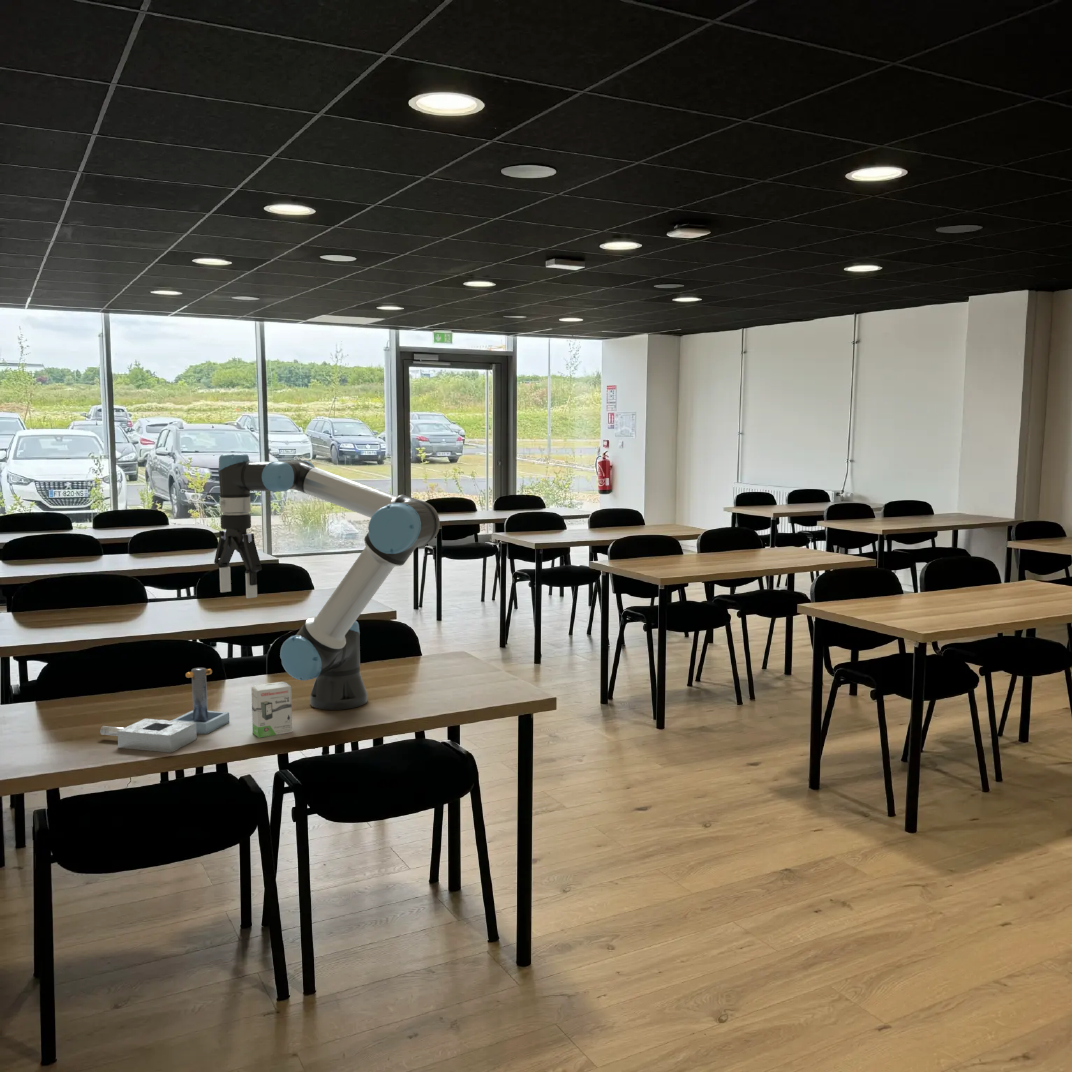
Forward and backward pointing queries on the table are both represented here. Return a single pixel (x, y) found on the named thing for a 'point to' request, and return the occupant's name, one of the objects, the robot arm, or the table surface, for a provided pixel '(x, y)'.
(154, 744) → the block
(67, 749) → the table surface
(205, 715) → the pin
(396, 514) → the robot arm
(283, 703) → the ink box
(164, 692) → the table surface
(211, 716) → the parts tray
